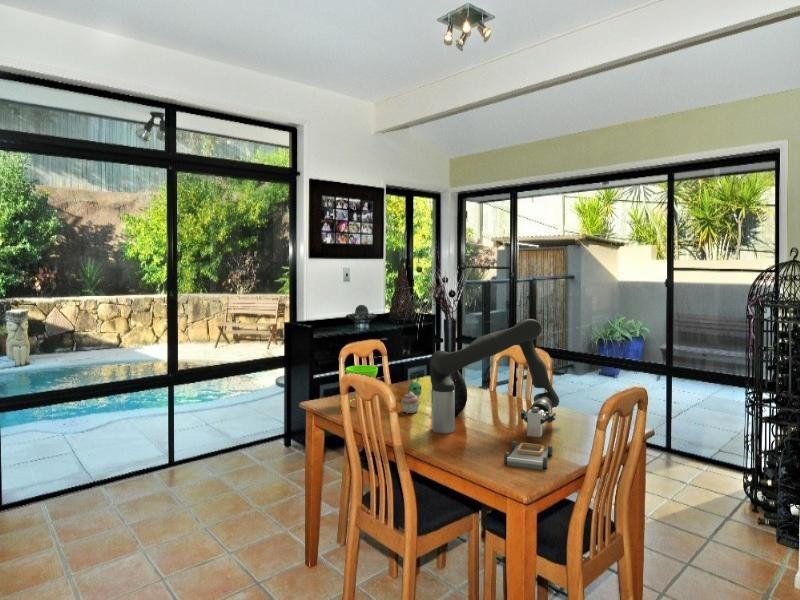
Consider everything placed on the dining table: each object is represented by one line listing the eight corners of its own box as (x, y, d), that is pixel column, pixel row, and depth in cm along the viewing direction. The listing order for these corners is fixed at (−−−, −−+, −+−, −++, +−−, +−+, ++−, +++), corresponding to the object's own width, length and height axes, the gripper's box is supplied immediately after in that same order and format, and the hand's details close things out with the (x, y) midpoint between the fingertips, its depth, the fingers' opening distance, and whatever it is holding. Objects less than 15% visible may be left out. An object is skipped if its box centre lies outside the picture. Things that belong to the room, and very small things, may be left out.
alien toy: (414, 400, 280) (414, 381, 280) (405, 397, 286) (404, 378, 286) (424, 398, 284) (424, 379, 284) (415, 395, 291) (415, 377, 290)
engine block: (540, 437, 208) (541, 409, 207) (526, 435, 210) (527, 408, 209) (542, 433, 213) (542, 406, 212) (529, 431, 215) (529, 405, 214)
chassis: (546, 470, 186) (546, 459, 186) (503, 464, 192) (503, 454, 192) (552, 453, 203) (552, 443, 203) (513, 448, 208) (513, 438, 208)
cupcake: (405, 408, 266) (405, 388, 265) (423, 410, 261) (423, 390, 261) (397, 413, 257) (396, 392, 257) (415, 415, 253) (415, 394, 252)
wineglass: (374, 409, 265) (374, 372, 264) (342, 407, 268) (341, 371, 266) (381, 400, 281) (380, 365, 280) (350, 399, 283) (350, 364, 282)
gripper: (523, 398, 227) (515, 409, 211) (559, 402, 221) (553, 413, 205) (522, 416, 227) (514, 428, 211) (558, 421, 222) (553, 433, 206)
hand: (534, 420), depth 209 cm, fingers closed on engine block, 5 cm apart
